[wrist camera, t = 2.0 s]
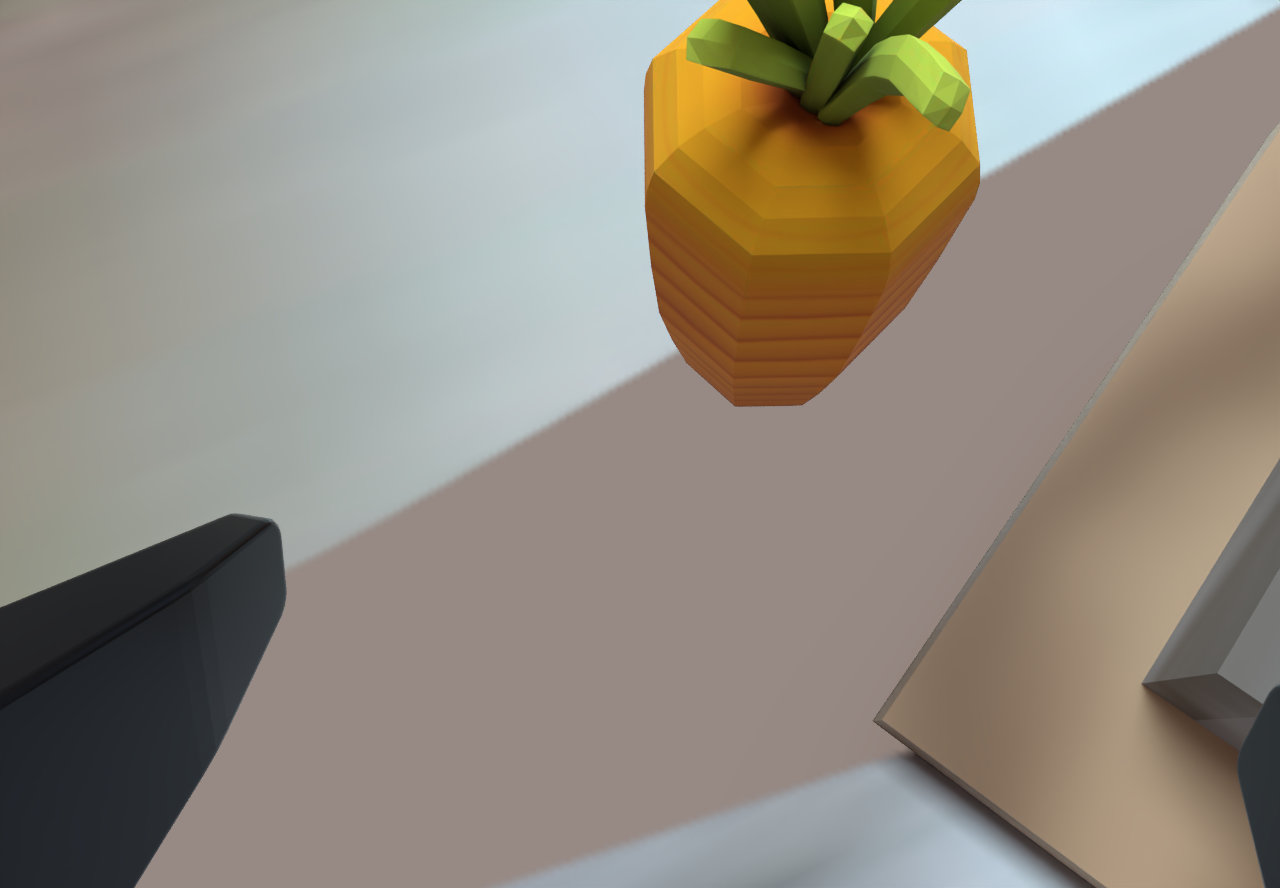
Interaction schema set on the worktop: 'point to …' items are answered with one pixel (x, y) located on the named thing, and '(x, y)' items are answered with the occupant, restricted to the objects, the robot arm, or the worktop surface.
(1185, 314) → the socket base
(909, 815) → the worktop surface
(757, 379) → the carrot
